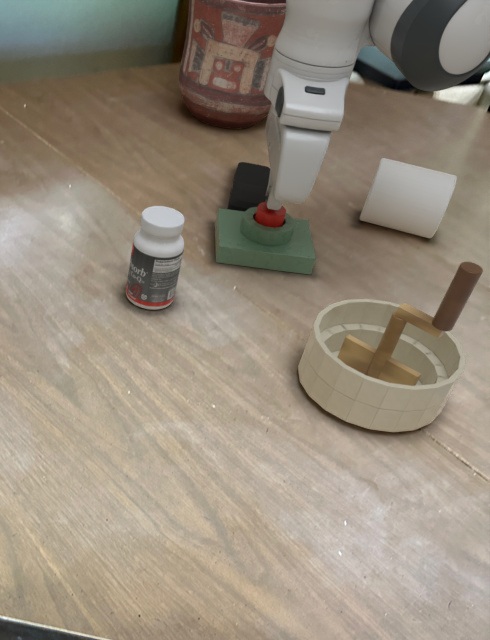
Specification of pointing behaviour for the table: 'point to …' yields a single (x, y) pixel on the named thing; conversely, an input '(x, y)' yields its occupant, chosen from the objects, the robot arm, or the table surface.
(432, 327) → the stirring paddle
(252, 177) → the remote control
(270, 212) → the timer button
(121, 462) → the table surface
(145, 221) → the pill bottle
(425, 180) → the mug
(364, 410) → the bowl
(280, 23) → the pottery
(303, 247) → the green button base
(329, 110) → the robot arm
